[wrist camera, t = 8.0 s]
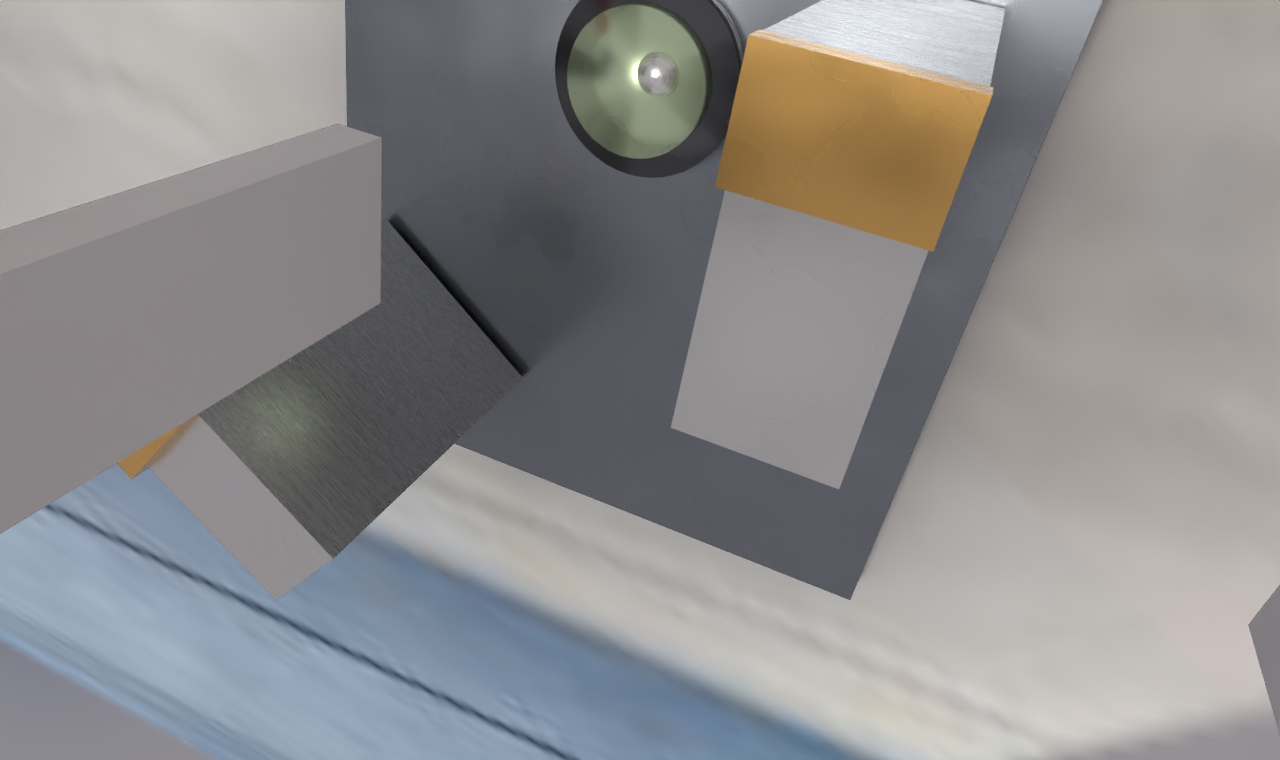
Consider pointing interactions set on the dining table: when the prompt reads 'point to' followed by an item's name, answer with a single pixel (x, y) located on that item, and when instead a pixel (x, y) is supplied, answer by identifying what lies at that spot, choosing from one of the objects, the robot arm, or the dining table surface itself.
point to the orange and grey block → (334, 427)
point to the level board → (654, 241)
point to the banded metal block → (829, 219)
